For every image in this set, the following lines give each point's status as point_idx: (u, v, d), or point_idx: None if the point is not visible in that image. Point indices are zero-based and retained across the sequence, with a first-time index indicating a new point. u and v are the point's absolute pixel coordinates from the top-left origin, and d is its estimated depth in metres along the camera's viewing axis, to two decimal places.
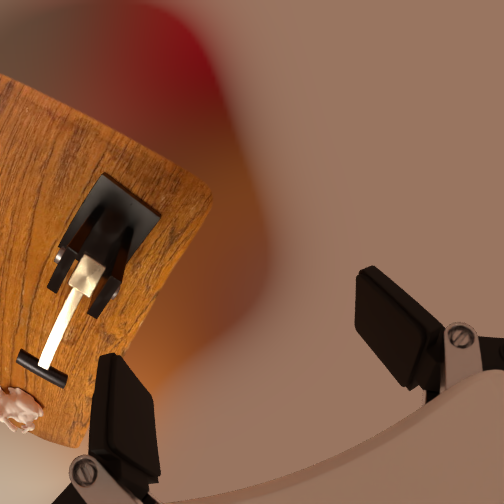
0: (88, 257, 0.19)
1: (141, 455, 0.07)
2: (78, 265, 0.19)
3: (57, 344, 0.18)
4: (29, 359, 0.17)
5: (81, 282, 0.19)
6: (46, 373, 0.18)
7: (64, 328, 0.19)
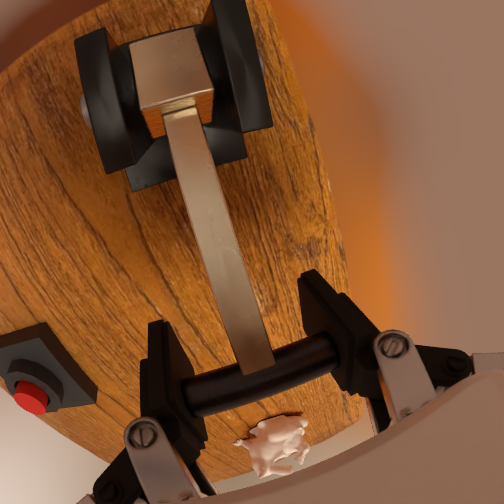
0: (142, 41, 0.07)
1: (193, 417, 0.08)
2: (134, 64, 0.06)
3: (244, 278, 0.08)
4: (217, 384, 0.08)
5: (168, 79, 0.07)
6: (279, 374, 0.08)
7: (226, 221, 0.08)
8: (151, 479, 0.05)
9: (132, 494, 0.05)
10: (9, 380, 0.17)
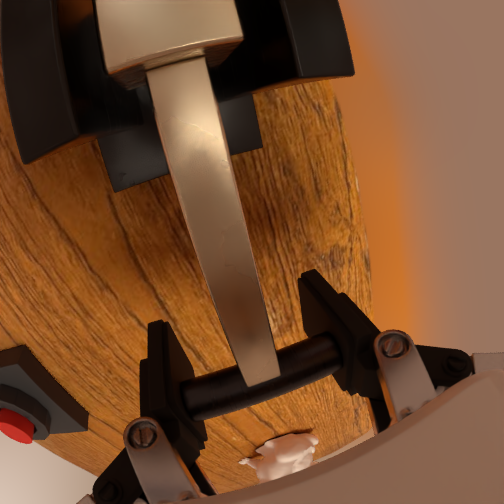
0: None
1: None
2: None
3: (260, 306, 0.06)
4: (220, 396, 0.07)
5: (159, 13, 0.03)
6: (283, 384, 0.08)
7: (243, 241, 0.06)
8: (151, 479, 0.05)
9: (132, 494, 0.05)
10: None
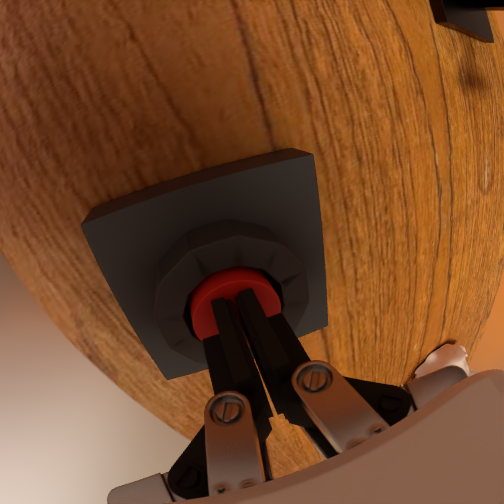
0: None
1: None
2: None
3: None
4: None
5: None
6: None
7: None
8: (220, 458, 0.05)
9: None
10: (183, 277, 0.10)
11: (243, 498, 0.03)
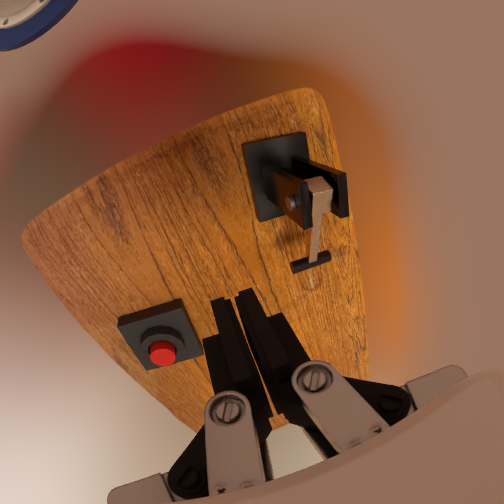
0: (317, 193, 0.25)
1: None
2: (313, 202, 0.26)
3: (318, 244, 0.31)
4: (302, 265, 0.33)
5: (320, 208, 0.26)
6: (317, 263, 0.34)
7: (318, 234, 0.30)
8: (220, 457, 0.05)
9: None
10: (146, 342, 0.36)
11: (243, 498, 0.03)
